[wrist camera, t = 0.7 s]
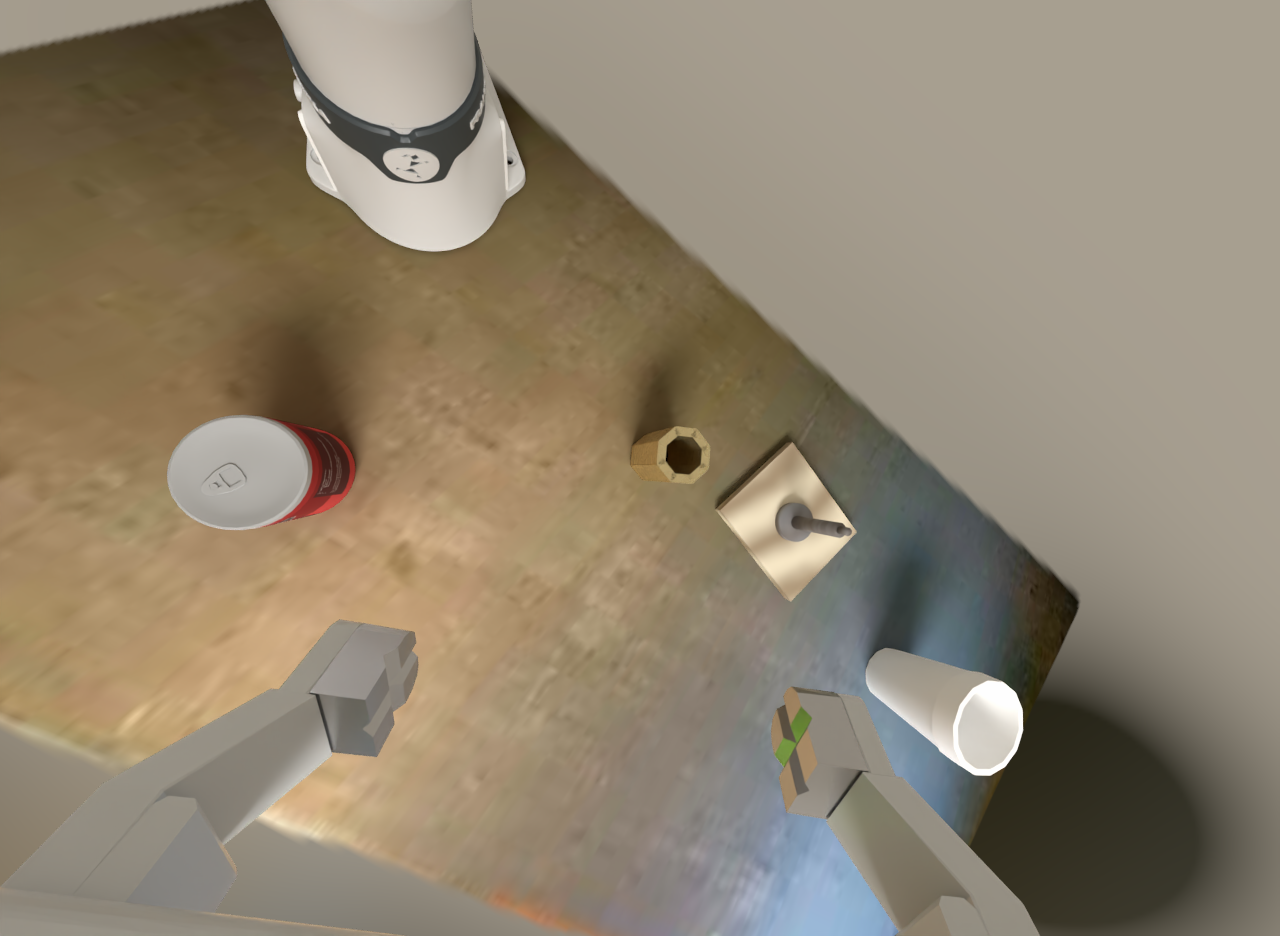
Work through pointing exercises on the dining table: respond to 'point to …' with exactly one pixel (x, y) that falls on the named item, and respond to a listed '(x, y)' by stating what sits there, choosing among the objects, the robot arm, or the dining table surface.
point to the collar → (671, 455)
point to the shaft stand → (787, 520)
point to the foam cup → (950, 708)
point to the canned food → (258, 472)
